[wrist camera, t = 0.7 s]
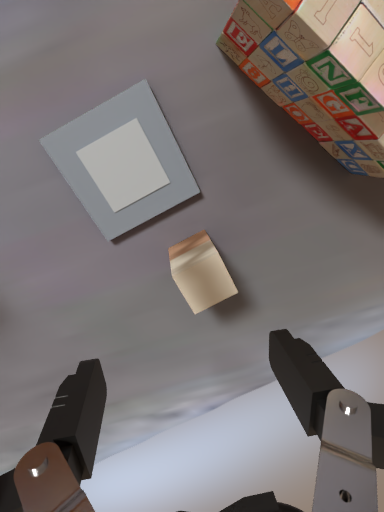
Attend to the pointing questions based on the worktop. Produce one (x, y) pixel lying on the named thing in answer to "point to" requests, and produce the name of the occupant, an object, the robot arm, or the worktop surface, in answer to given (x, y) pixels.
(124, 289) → the worktop surface
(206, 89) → the worktop surface
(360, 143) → the stack of blocks
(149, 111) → the base plate
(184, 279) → the cream and brown block
